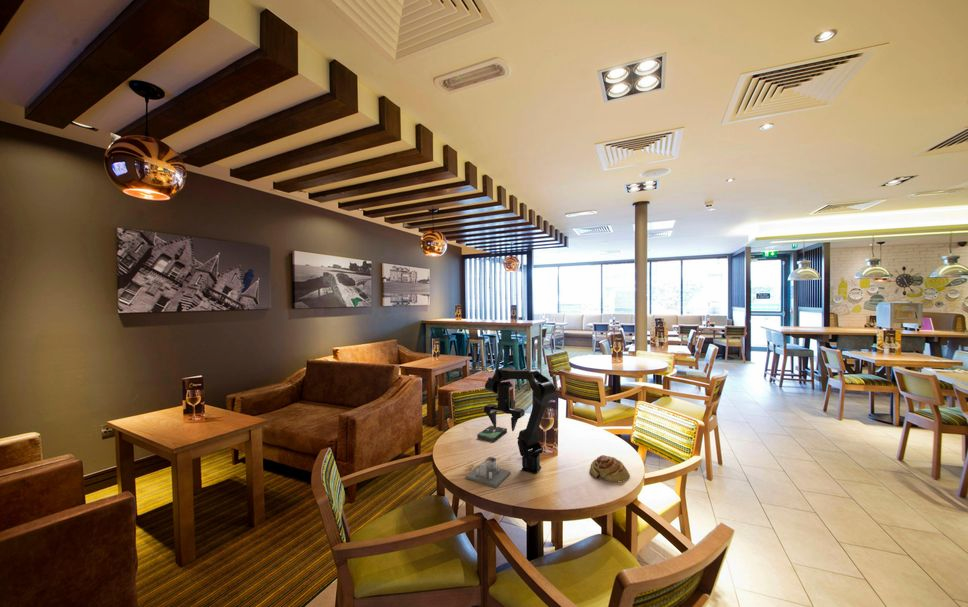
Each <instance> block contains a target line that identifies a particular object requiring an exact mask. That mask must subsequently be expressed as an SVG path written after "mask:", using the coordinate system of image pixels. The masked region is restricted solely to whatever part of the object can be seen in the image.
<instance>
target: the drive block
mask: <svg viewBox="0 0 968 607" xmlns="http://www.w3.org/2000/svg"><path fill="white" fill-rule="evenodd" d="M479 465H480V477H481V478H485V479H487V478H488V477H489V472H492V474H493V473H494V472H495V471H496V468H497V458H496V457H492V456H489V457H488V458H485V460H484V461H483V462H481V463H480V464H479Z"/></svg>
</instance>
